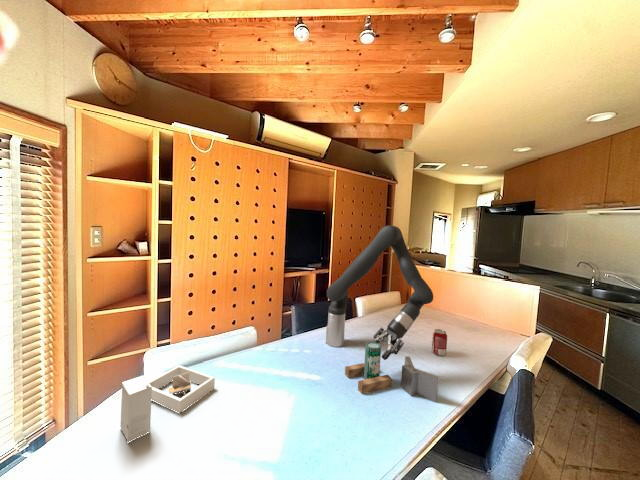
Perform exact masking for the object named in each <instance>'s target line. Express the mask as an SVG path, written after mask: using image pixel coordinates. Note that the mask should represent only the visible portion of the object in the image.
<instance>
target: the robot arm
mask: <svg viewBox="0 0 640 480" xmlns="http://www.w3.org/2000/svg"><path fill="white" fill-rule="evenodd" d="M389 247H391V249H392V250H393V252H394V254H395V256H396V259H397V262H398V267H399V269H400V272H401V273H402V277H403V278H404V280H405V282H406V283H407V285H408V286H409V287H411V288H412V289H413V292H412V294H410V297H409V298H408V299H407V302H406V303H405V305H404V306H403V307H401V309H400V310H399V312H397V314H396V315H394V317H393V318H392V320H391V321H390V322H389V323H388V325H387V326H386V327H387V328H386V329H384V328H383V327H379V329H378V330H377V331H376V332H375V333H374V335H373V336H372V337H373V339H374V341H373V342H376V343H379V344H381V343H382V344H383V343H386V344H387V349H386V350H385V351H384V353H383V354H381V358H382V359H383V360H384V361H386V360H388V358H389V357H390V356H391V355H392V354H394V355H396V356H397V354H398V353H399V352H400V350H401V349H402V348H403V346H404V344H405V343H404V341H403V340H402V338H403V337H404V336H405V335H406V333H407V332H408V331H410V330H409V329H410V328H411V327H412V325H413V323H414V322H416V320H417V318H419V315H420V312H421V311H420V310H421V309H422V307H423V306H424V305H429V304H430V303H432V302H433V301H434V292H433V291H432V289H431V287H430V286H429V285H428V284H427V282H426V281H425V280H424V278H423V277H422V275H421V273H420V271H419V269H418V268H417V266H416V264H415V262H414V260H413V258H412V256H411V254H410V252H409V249H408V247H407V245H406V242H405V239H404V236H403V233H402V230H401V229H400V228H399V227H397V226H396V225H390V224H389V225H385V226H383V227H382V228H380V230H379V232H378V233H377V234H376V235H375V237H374V238H373V239H372V241H371V242H370V243H369V245H367V246H366V247H365V248H364V249H363V250H362V251H361V253H359V254H358V256H357V257H356V258H355V259H354V260H353V261H352V262H351V263H350V264H349V266H347V268H346V269H345V271H343V273H342V275H340V276H339V277H338V279H336V280H334V282H333V283H331V284H330V285H329V286H328V288H327V290H326V297H327V299H328V300H329V301H331V303H330V305H329V306H328V316H327V317H328V318H327V325H326V330H325V331H326V332H325V333H326V334H325V344H327V345H329V346H330V347H333V348H338V347H340V348H341V347H343V346H344V344H345V327H346V310H347V307H348V298H349V289H350V288H351V287H352V286H353V285H354V284H356V283H357V282H358V281H360V280H361V279H362V278H363V277H365V276H366V275H367V274H369V272H370V271H371V270H372V269H373V267H374V266H375V264H376V263H377V261H378V259H379V257H380V256H381V255H382V254H383V252H384V251H386V250H387V249H388V248H389Z"/></svg>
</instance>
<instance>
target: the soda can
mask: <svg viewBox="0 0 640 480" xmlns="http://www.w3.org/2000/svg"><path fill="white" fill-rule="evenodd" d="M447 343H448V334H447V332H446V330H444V329H441V328H435V329H434V331H433V332H432V343H431V353H432V354H434V355H436V356H438V357H443V356H444V357H445V356H446V355H447V345H448V344H447Z"/></svg>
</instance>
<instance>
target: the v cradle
mask: <svg viewBox="0 0 640 480" xmlns="http://www.w3.org/2000/svg"><path fill="white" fill-rule="evenodd" d="M400 388H401V389H403V390H404V391H405V392H406V393H407V394H408V395H409V396H410V397H414V396H420V397H422V398H424V399H427V400H429V401H431V402H434V403H436V402H437V400H438V391H439V390H438V388H439V376H437V375H435V374H432V373H429V372H427V371H424V370H421V369H418V368H415V366H414V364H413V362H412V359H411V357H410V356H408V355H407V356H404V364H403V365H402V366H401V379H400Z"/></svg>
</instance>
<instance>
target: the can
mask: <svg viewBox="0 0 640 480" xmlns="http://www.w3.org/2000/svg"><path fill="white" fill-rule="evenodd" d="M381 353H382V345H381V343H376V342H374V341H368V342H365V349H364V363H365V366H364V375H363V380H365V379H369V378H374V377H379V376H381V375H380V373H381V358H382V354H381Z"/></svg>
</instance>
